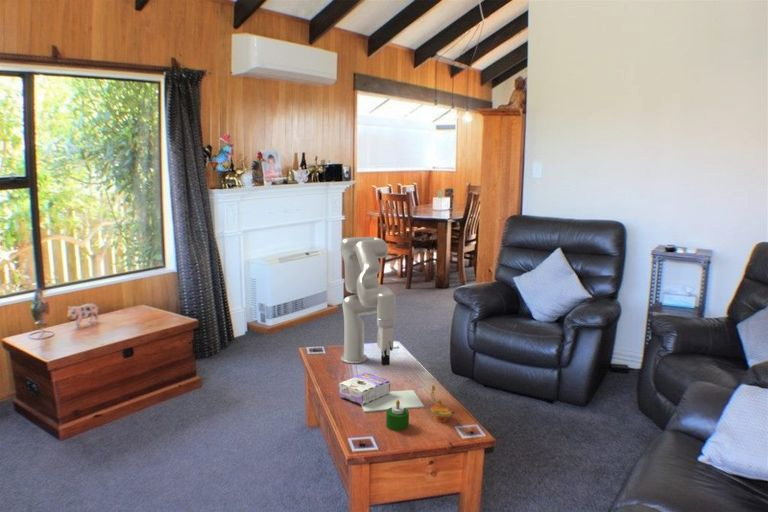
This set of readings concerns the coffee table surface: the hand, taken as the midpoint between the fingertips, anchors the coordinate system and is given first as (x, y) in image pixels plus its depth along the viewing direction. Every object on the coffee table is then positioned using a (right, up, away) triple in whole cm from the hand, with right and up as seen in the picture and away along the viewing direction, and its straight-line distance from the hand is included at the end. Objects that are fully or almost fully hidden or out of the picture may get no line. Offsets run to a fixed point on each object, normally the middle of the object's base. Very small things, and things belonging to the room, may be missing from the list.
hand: (385, 364), depth 242 cm
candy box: (-3, -8, +4) cm, 10 cm away
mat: (+2, -14, -6) cm, 15 cm away
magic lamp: (+21, -17, -22) cm, 35 cm away
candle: (+4, -18, -27) cm, 32 cm away
